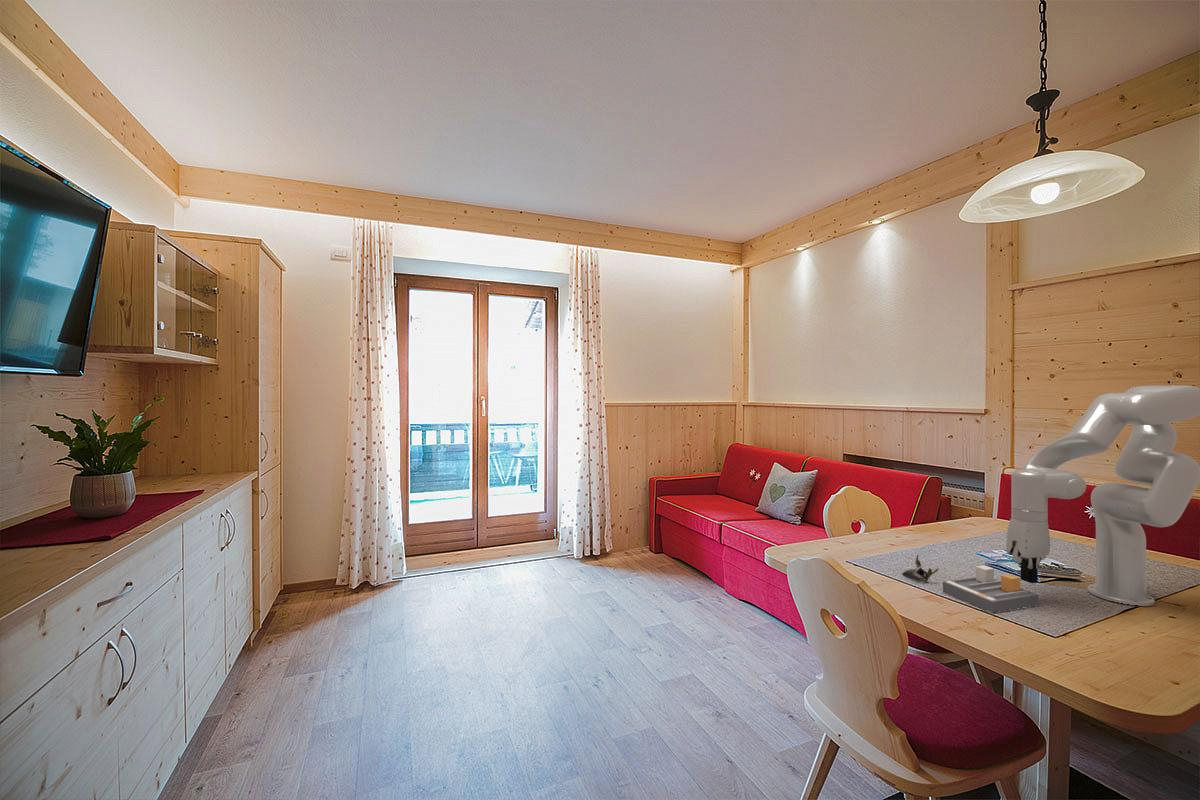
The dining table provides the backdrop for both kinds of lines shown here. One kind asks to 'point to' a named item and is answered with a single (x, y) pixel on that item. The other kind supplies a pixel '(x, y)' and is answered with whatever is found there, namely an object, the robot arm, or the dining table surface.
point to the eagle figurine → (920, 571)
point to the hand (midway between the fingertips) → (1029, 581)
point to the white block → (984, 574)
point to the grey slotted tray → (989, 594)
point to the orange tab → (1010, 583)
